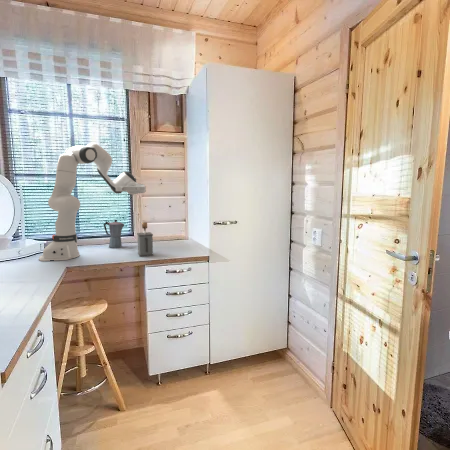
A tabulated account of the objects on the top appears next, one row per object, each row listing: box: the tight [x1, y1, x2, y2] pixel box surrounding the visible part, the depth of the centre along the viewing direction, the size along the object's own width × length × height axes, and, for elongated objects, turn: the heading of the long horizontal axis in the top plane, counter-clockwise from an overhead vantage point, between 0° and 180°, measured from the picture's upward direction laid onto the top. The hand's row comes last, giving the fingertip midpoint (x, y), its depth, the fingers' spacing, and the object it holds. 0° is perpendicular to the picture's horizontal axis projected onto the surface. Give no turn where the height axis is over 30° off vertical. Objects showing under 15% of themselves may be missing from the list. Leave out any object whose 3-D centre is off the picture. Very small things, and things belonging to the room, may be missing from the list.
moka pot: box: [103, 219, 125, 249], centre depth 223 cm, size 10×15×20 cm, turn 89°
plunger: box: [141, 221, 148, 234], centre depth 201 cm, size 6×6×20 cm
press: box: [136, 231, 154, 258], centre depth 200 cm, size 8×11×14 cm
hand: (129, 189), depth 210 cm, fingers open, 8 cm apart
